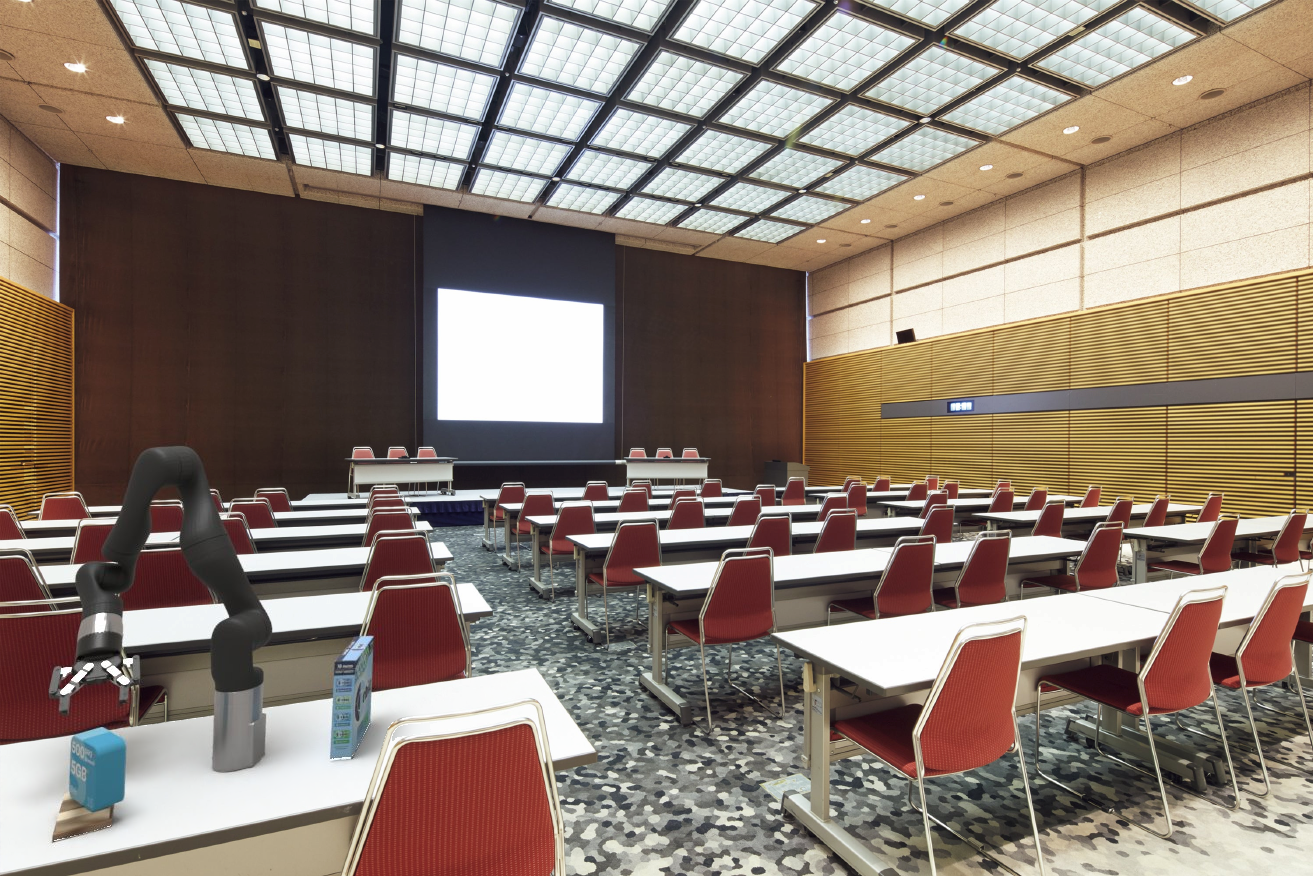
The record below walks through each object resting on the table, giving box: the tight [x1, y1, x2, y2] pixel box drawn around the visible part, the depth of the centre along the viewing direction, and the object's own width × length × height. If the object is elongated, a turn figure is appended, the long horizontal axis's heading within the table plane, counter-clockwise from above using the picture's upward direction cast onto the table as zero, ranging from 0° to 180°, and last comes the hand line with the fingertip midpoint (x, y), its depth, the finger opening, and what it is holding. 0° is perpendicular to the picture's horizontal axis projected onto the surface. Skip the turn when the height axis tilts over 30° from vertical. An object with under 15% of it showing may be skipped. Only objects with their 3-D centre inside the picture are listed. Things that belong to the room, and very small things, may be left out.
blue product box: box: [329, 635, 375, 760], centre depth 153 cm, size 20×5×23 cm, turn 13°
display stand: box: [51, 792, 115, 842], centre depth 120 cm, size 8×13×3 cm, turn 38°
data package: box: [68, 726, 127, 812], centre depth 121 cm, size 12×4×12 cm, turn 60°
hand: (94, 709), depth 129 cm, fingers open, 8 cm apart
